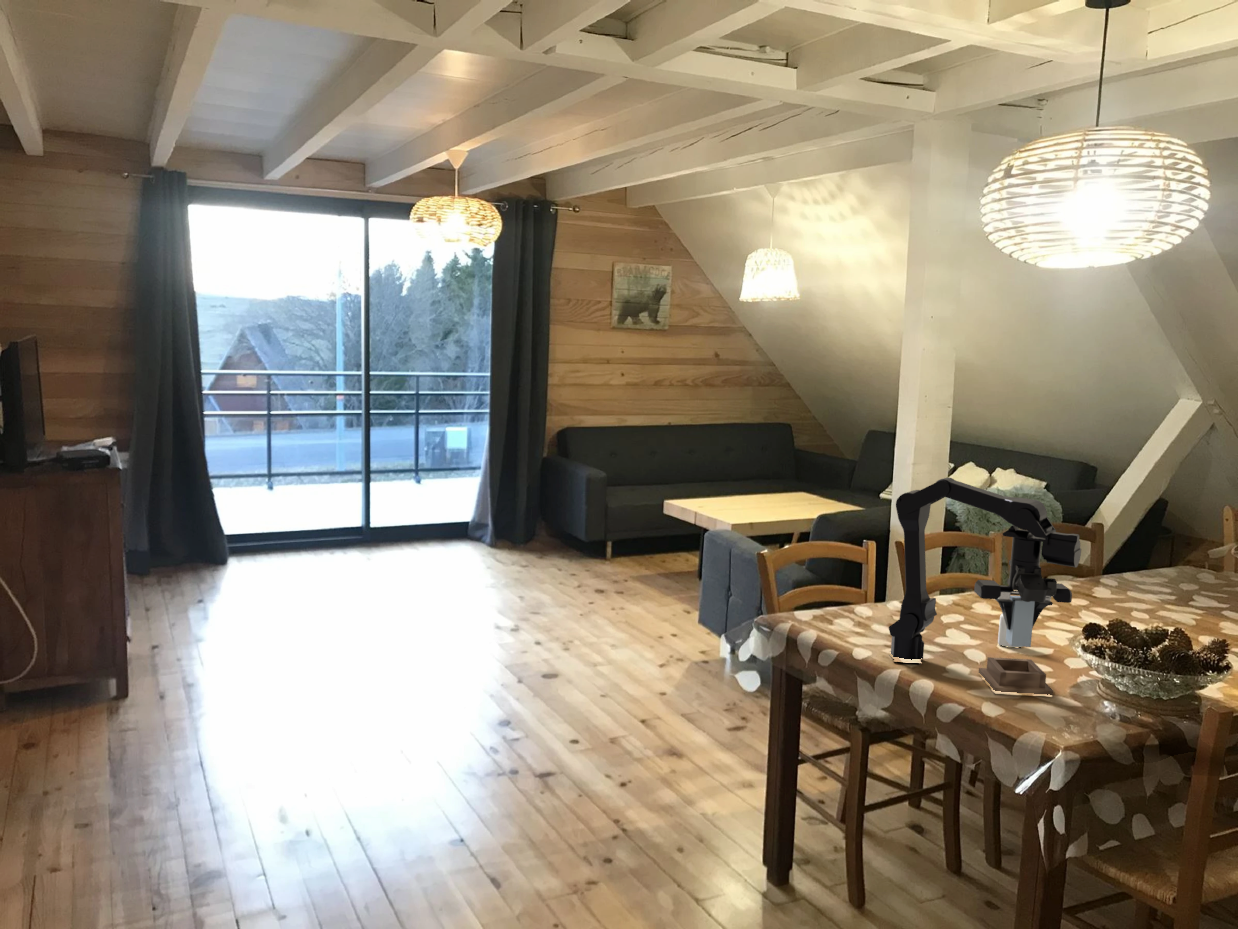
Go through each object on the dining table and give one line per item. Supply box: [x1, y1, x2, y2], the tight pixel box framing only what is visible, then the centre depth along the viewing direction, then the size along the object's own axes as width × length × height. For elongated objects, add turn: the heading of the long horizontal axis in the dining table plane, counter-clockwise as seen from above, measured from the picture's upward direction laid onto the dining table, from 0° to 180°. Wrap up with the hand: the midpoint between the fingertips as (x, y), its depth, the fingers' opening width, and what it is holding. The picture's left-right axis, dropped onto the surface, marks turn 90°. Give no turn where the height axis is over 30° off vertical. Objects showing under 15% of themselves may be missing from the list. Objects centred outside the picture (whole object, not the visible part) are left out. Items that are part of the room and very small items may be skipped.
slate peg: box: [1006, 595, 1035, 648], centre depth 209 cm, size 4×4×10 cm
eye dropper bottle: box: [997, 613, 1023, 648], centre depth 236 cm, size 4×6×12 cm
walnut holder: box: [978, 657, 1054, 696], centre depth 210 cm, size 12×12×4 cm
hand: (1019, 629), depth 209 cm, fingers closed on slate peg, 4 cm apart
